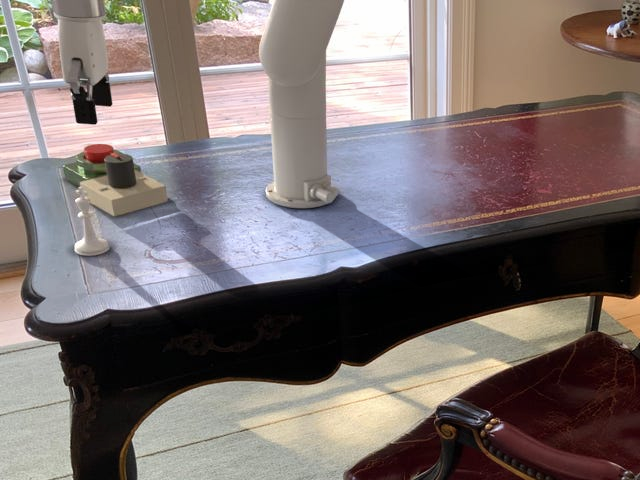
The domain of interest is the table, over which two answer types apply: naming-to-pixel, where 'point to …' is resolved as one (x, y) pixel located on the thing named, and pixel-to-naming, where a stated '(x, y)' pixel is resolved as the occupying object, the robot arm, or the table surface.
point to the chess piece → (88, 229)
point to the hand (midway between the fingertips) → (95, 114)
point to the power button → (98, 152)
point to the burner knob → (120, 170)
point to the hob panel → (124, 194)
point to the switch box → (87, 169)
